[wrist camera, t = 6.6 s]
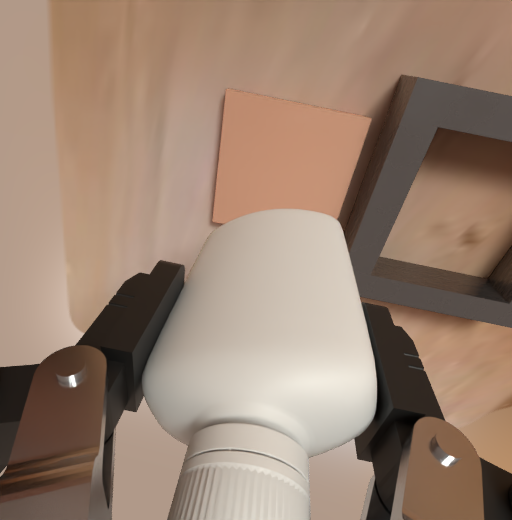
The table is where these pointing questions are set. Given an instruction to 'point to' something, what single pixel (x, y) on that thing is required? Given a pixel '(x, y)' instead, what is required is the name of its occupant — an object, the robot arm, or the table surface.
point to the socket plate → (397, 187)
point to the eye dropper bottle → (262, 366)
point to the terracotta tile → (284, 156)
